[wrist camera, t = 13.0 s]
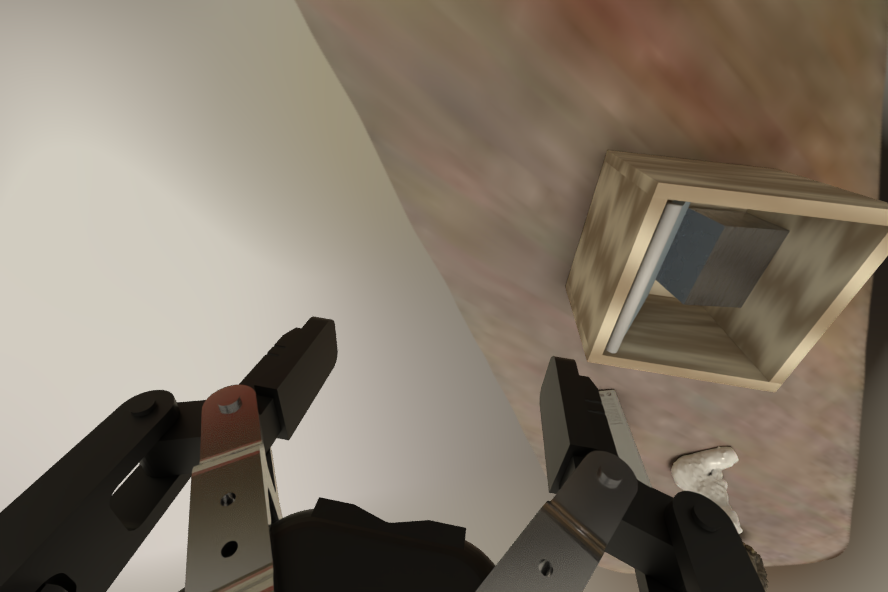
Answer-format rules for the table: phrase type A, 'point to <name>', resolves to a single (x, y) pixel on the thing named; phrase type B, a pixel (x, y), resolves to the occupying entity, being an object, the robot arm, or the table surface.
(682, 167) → the hatch box
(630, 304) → the hatch door
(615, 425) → the skincare box
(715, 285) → the metal brick
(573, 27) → the table surface
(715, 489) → the seated beast figurine
